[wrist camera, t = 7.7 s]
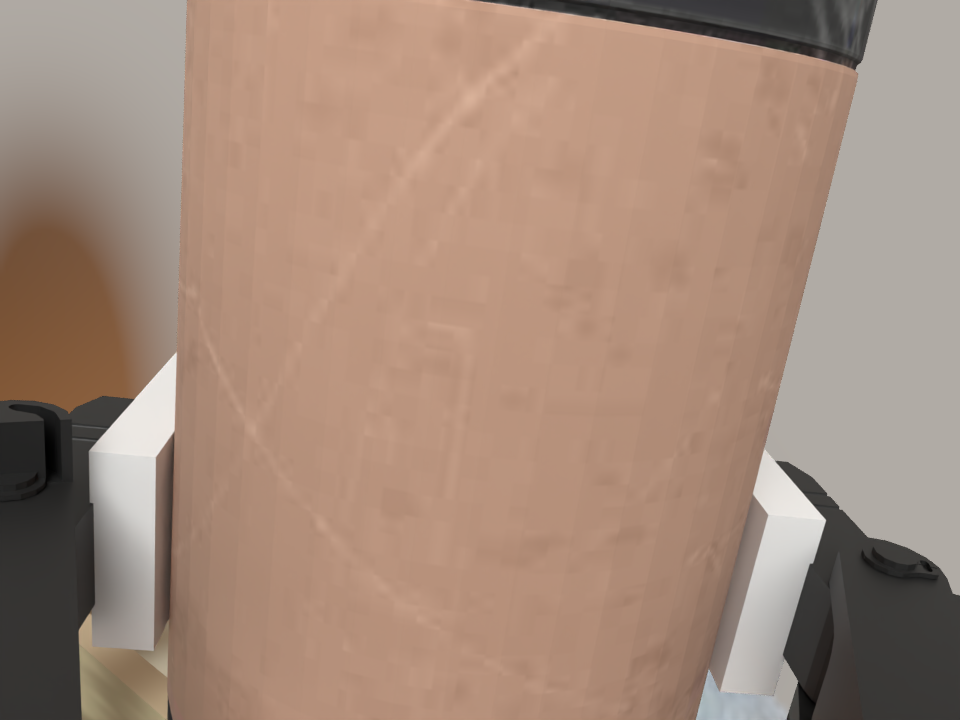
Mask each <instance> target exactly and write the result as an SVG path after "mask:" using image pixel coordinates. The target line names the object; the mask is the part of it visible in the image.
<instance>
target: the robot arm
mask: <svg viewBox="0 0 960 720" xmlns="http://www.w3.org/2000/svg"><path fill="white" fill-rule="evenodd" d="M176 362H177V352H176V353H175V354H174V355H173V357H172V358H171V359H170V360H169V361H168V362H167V363H166V364H165V366H164V367H163V368H162V369H161V370H160V371H159V373H158V374H157V375H156V376H155V377H154V378H153V379H152V380H151V381H150V383H149V384H148V385H147V386H146V387H145V388H144V389H143V390H142V392H141V393H140V394H139V395H138V396H137V397H136V398H135V399H128V398H118V397H108V396H102V397H99V398H97V399H95V400H92V401H90V402H88V403H85V404H83V405H80V406H78V407H76V408H75V409H74V410H73V411H72V412H71V413H70V414H68V412H67V411H66V410H64V409H62V408H60V407H58V406H55V405H53V404H48V403H42V402H37V401H20V400H8V401H0V720H82V710H81V682H80V654H79V629H80V628H81V626H82V624H83V623H84V621H85V620H86V618H87V616H88V615H89V613H90V611H91V610H92V647H106V648H120V649H134V650H148V651H154V650H155V647H156V645H157V643H158V641H159V639H160V637H161V635H162V633H163V630H164V628H165V626H166V624H167V622H168V620H169V604H170V570H171V535H172V501H173V466H174V432H175V396H176ZM784 659H786V661H787V663H788V664H789V666H790V668H791V670H792V671H793V673H794V675H795V676H796V678H797V680H798V684H797V688H796V690H795V694H794V697H793V701H792V703H791V707H790V710H789V713H788V716H787V720H960V596H959V595H955V594H953V593H952V591H951V588H950V585H949V582H948V580H947V578H946V576H945V575H944V574H943V572H942V571H941V570H940V568H939V567H937V566H936V565H935V564H934V563H933V562H931V561H930V560H928V559H927V558H926V557H924V556H921V555H920V554H918V553H916V552H914V551H912V550H910V549H908V548H906V547H903V546H900V545H897V544H894V543H891V542H888V541H885V540H879V539H874V538H868V537H867V536H866V535H865V534H864V533H863V532H862V531H861V530H860V529H859V528H858V527H857V525H856V524H855V523H854V522H853V521H852V520H851V519H850V518H849V517H848V516H847V515H846V513H845V512H843V510H839V506H838V505H837V504H836V503H835V501H834V500H833V499H832V498H831V497H829V496H827V493H826V492H825V491H824V490H823V488H822V487H821V486H820V485H819V484H818V483H817V482H816V481H815V480H814V479H813V478H812V477H811V476H809V475H808V474H806V473H804V472H803V471H801V470H800V469H798V468H796V467H795V466H793V465H791V464H790V463H788V462H782V461H774V460H773V458H772V457H771V456H770V455H769V454H768V453H767V451H766V450H765V449H764V451H763V455H762V459H761V463H760V467H759V471H758V475H757V479H756V483H755V487H754V491H753V495H752V499H751V503H750V507H749V510H748V514H747V518H746V522H745V526H744V530H743V534H742V538H741V542H740V546H739V550H738V554H737V558H736V562H735V566H734V570H733V574H732V578H731V582H730V586H729V590H728V594H727V598H726V601H725V605H724V609H723V613H722V617H721V621H720V625H719V629H718V633H717V637H716V641H715V645H714V649H713V653H712V657H711V661H710V665H709V669H710V672H711V674H712V676H713V678H714V680H715V682H716V685H717V687H718V689H719V691H720V692H726V693H740V694H754V695H767V696H774V692H775V689H776V685H777V682H778V679H779V676H780V672H781V669H782V665H783V662H784Z"/></svg>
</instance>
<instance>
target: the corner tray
mask: <svg viewBox="0 0 960 720" xmlns="http://www.w3.org/2000/svg"><path fill="white" fill-rule="evenodd" d="M168 634H169V620H168V622H167V624H166V626H165V628H164V630H163V633H162V635H161V637H160V639H159V641H158V643H157V645H156V647H155V650H154V651H148V650H134V649H120V648H106V647H92V610H91V611H90V613H89V615H88V616H87V618H86V620H85V621H84V623H83V624H82V626H81V628H80V629H79V654H80V682H81V710H82V720H168V719H167V710H168V693H167V670H168Z"/></svg>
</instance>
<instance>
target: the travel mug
mask: <svg viewBox="0 0 960 720" xmlns="http://www.w3.org/2000/svg"><path fill="white" fill-rule="evenodd" d="M876 4H877V0H187V22H186V56H185V90H184V124H183V158H182V159H183V160H182V193H181V226H180V261H179V295H178V296H179V297H178V328H177V362H176V396H175V432H174V466H173V501H172V535H171V570H170V604H169V634H168V670H167V693H168V710H167V719H168V720H696V716H697V712H698V708H699V704H700V700H701V696H702V693H703V689H704V685H705V681H706V677H707V673H708V669H709V665H710V661H711V657H712V653H713V649H714V645H715V641H716V637H717V633H718V629H719V625H720V621H721V617H722V613H723V609H724V605H725V601H726V598H727V594H728V590H729V586H730V582H731V578H732V574H733V570H734V566H735V562H736V558H737V554H738V550H739V546H740V542H741V538H742V534H743V530H744V526H745V522H746V518H747V514H748V510H749V507H750V503H751V499H752V495H753V491H754V487H755V483H756V479H757V475H758V471H759V467H760V463H761V459H762V455H763V451H764V447H765V443H766V439H767V435H768V431H769V427H770V423H771V419H772V415H773V412H774V407H775V404H776V400H777V396H778V392H779V388H780V383H781V380H782V376H783V371H784V368H785V364H786V360H787V356H788V352H789V348H790V344H791V340H792V336H793V332H794V328H795V324H796V320H797V316H798V313H799V309H800V305H801V301H802V297H803V293H804V289H805V285H806V281H807V277H808V273H809V269H810V265H811V261H812V257H813V253H814V249H815V245H816V241H817V237H818V233H819V230H820V226H821V222H822V217H823V214H824V209H825V206H826V202H827V197H828V194H829V190H830V186H831V182H832V178H833V174H834V170H835V166H836V162H837V158H838V154H839V150H840V146H841V142H842V138H843V134H844V131H845V127H846V123H847V119H848V115H849V110H850V107H851V103H852V99H853V95H854V91H855V87H856V83H857V78H858V73H857V72H856V71H855V69H856V66H857V65H858V64H859V63H861V61H862V60H863V56H864V52H865V47H866V44H867V39H868V36H869V32H870V27H871V24H872V20H873V16H874V12H875V8H876Z"/></svg>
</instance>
